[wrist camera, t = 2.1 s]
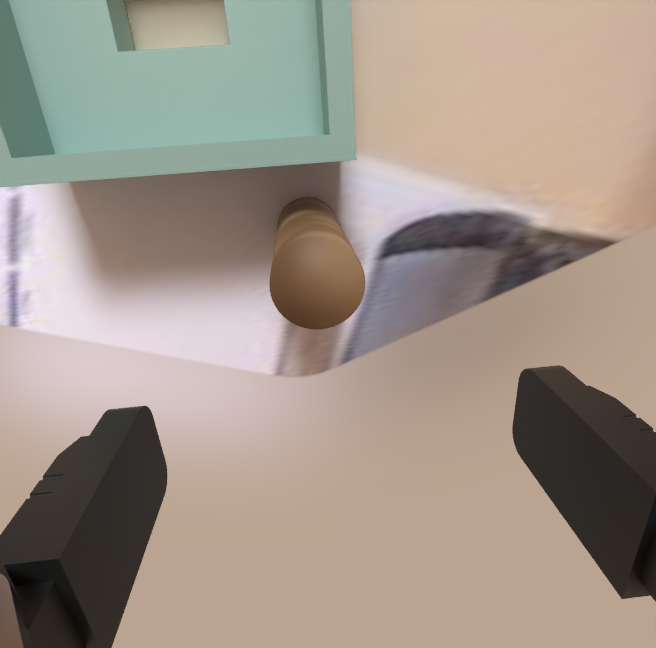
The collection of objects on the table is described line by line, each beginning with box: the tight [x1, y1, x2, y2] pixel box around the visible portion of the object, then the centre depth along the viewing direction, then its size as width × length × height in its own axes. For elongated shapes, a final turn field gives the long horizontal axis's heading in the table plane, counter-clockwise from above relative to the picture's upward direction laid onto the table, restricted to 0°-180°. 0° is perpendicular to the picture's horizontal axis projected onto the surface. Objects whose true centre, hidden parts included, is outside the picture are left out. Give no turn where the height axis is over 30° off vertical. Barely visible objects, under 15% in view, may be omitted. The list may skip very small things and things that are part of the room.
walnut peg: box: [270, 198, 365, 329], centre depth 23 cm, size 4×4×12 cm
